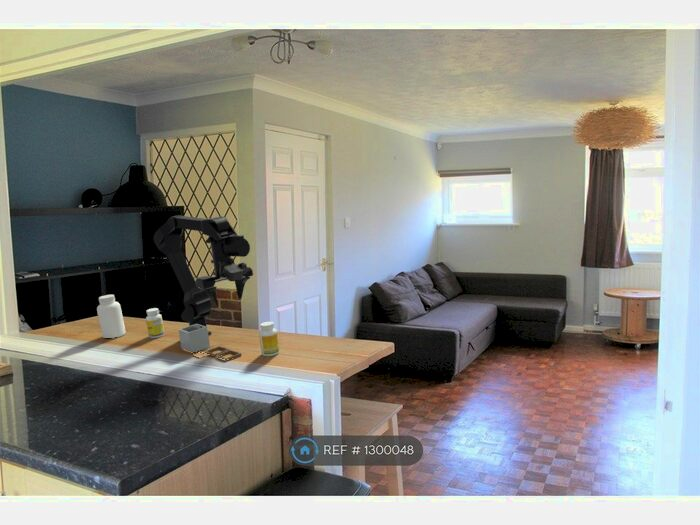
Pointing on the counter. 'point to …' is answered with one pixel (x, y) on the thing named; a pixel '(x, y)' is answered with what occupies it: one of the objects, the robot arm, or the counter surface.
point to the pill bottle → (110, 317)
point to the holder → (223, 352)
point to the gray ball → (193, 328)
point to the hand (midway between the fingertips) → (228, 302)
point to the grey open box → (194, 338)
